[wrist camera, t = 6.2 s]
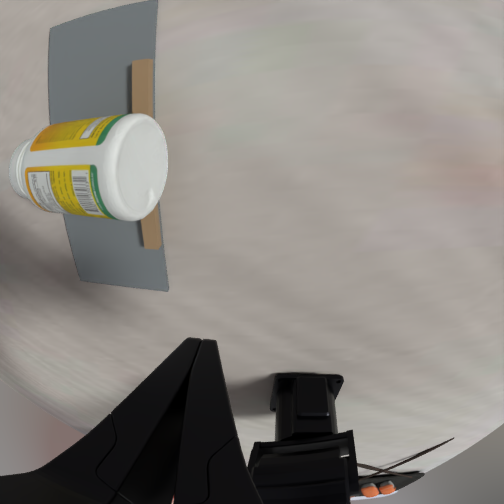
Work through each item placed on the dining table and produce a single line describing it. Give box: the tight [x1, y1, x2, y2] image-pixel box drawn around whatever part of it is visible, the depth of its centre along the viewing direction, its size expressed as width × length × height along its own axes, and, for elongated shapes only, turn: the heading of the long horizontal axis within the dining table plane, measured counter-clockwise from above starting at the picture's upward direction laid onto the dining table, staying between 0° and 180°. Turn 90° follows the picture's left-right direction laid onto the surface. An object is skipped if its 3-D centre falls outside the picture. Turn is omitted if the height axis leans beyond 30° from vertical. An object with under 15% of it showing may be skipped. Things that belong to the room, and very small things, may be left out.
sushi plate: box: [350, 438, 454, 498], centre depth 42 cm, size 29×30×4 cm
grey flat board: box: [48, 0, 169, 292], centre depth 17 cm, size 20×8×1 cm, turn 178°
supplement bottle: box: [9, 113, 168, 221], centre depth 14 cm, size 5×5×10 cm
